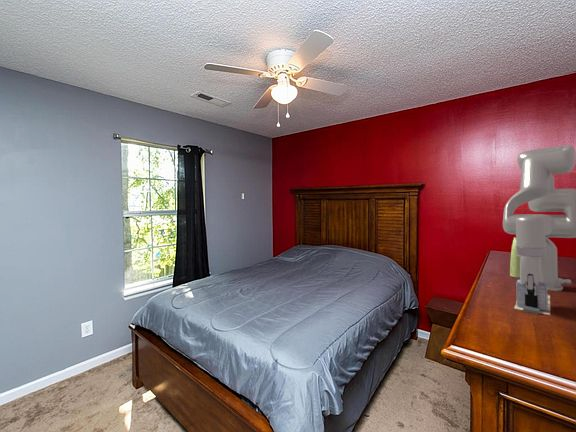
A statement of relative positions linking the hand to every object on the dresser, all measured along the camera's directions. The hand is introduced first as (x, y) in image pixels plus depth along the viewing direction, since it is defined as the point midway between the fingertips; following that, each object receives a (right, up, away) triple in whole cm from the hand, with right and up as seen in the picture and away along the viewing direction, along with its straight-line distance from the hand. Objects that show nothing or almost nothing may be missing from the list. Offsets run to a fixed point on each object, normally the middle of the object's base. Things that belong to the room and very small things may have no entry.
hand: (531, 303), depth 95 cm
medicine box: (0, -1, 0) cm, 1 cm away
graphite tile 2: (-3, -2, -3) cm, 4 cm away
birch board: (+5, -2, +5) cm, 8 cm away
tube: (+30, 0, +42) cm, 52 cm away
